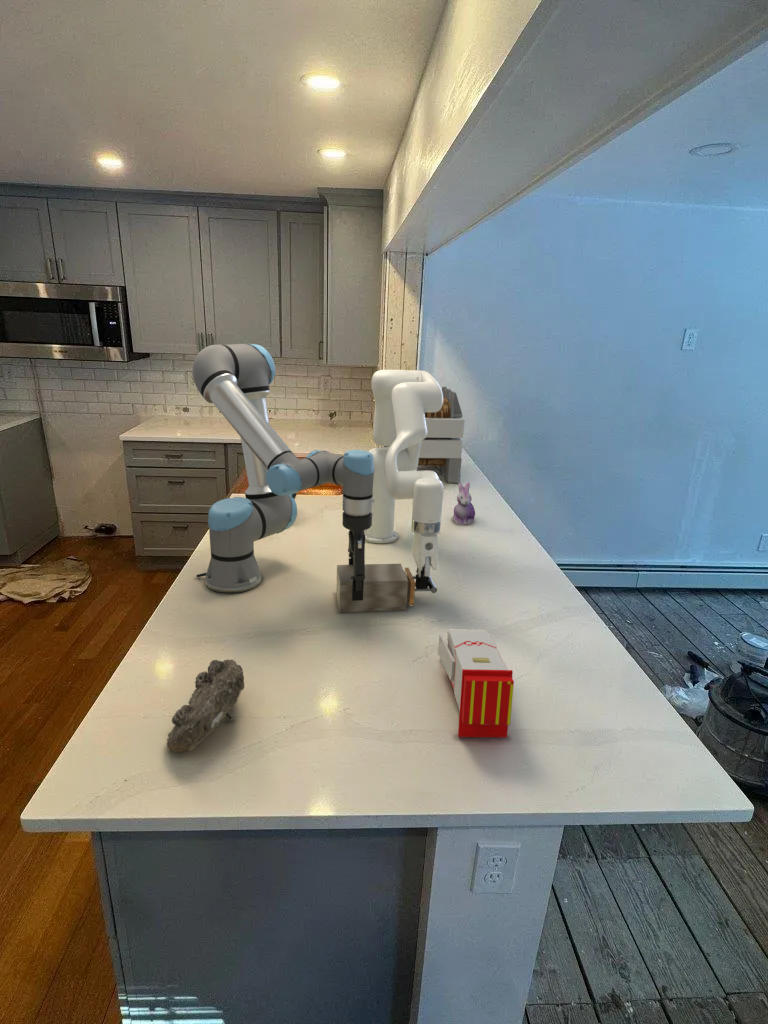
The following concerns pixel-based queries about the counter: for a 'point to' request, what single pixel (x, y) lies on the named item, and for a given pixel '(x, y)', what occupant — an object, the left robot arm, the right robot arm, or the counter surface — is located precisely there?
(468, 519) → the figurine
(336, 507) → the counter surface
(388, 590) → the grey boxy block
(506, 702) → the toy
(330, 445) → the counter surface
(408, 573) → the drawer
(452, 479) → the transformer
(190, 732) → the fossil
